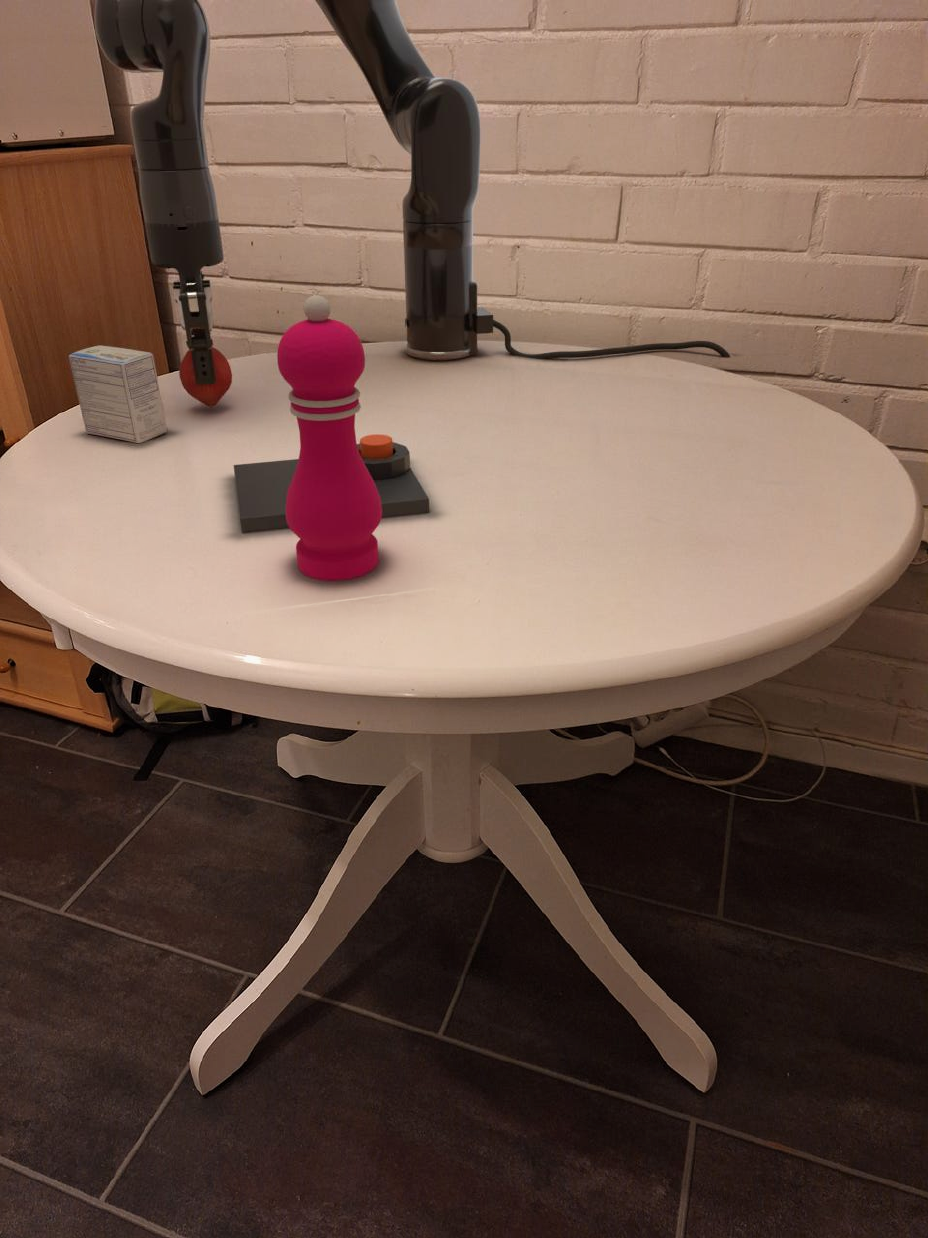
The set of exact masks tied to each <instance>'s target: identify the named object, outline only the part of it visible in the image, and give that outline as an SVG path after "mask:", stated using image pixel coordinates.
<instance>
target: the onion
mask: <svg viewBox="0 0 928 1238" xmlns="http://www.w3.org/2000/svg"><path fill="white" fill-rule="evenodd" d="M212 356H213V362H214V369H215V376H216V382H215V383H214V384H209V385H198V384H197V383H196V381H195V375H194V368H193V362H192V356H191V351H190V350H189V349H188V350H187V351H186V352H185V354H184V356H183V358H182V360H181V362H180V365H179V368H178V375H179V376H178V377H179V380H180V382H181V385H182V387H183V389H184V390H185V392H187V394H188V395H189V396H191V398H193V399H195V400H196V401H198V402H200V403H201V404H203V405H204V406H206V407H207V408H213V407H216V406H217V405H218V403H219V402H220V401H221V399H222V398H223V397H224V396H225V395H226V393H227V392H228V391H229V390H230V388H231V385H232V384H233V371H232V368H231V365H230V362H229V361H228V359H227V358H226V356H225V355H224V354H223V353H222V352H221V351H220V350H219V349H217V348H216V347H214V346H212Z"/></svg>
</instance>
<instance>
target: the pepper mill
mask: <svg viewBox="0 0 928 1238" xmlns="http://www.w3.org/2000/svg"><path fill="white" fill-rule="evenodd" d="M303 312H304V315H305V316H306V318H307V319H304V320H301V321H299V322H297V323H294V324H293V325H292V326H290V327H289V328H288V329H286V331H285V332H284V333H283V335H282V336H281V338H280V340H279V342H278V346H277V353H276V355H277V356H276V357H277V358H276V359H277V367H278V371H279V373H280V375H281V376H282V378H283V379H284V381H286V383H287V384H288V385H289V386H290V387H291V388H292V390H290V391H289V393H288V400H289V401H290V406H289V413H290V414H291V415H292V416H294V417H296V419H297V420H296V421H297V427H298V432H299V444H300V445H299V446H300V447H299V448H300V449H299V455H298V459H299V461H298V464H297V467H296V471H295V473H294V476H293V479H292V481H291V484H290V487H289V490H288V494H287V500H286V520H287V524H288V526H289V527H290V528H289V529H290V531H291V532H292V533H293V534H294V535H295V536H296V537H297V538H299V540H298V541H297V543H296V544H295V552H296V560H297V567H298V570H299V571H301V573H302V574H304V575H306V577H309V578H312V579H316V580H321V581H330V582H331V581H348V580H351V579H352V580H353V579H356V578H359V577H362V576H365V575H367V574H368V573H370V572H372V570H374V569H375V568H376V566H377V565H378V563H379V543H378V542H379V541H378V539H377V536H375V535H374V534H373V533H374V532H375V531H376V530H377V528H378V527H379V525H380V523H381V521H382V519H383V518H382V506H381V500H380V496H379V493H378V490H377V488H376V485H375V482H374V481H373V479H372V477H371V475H370V473H369V471H368V469H367V468H366V466H365V464H364V462H363V460H362V458H361V455H360V453H359V450H358V447H357V444H358V443H357V438H356V436H357V435H356V428H355V427H356V414H358V413H360V410H361V407H362V404H361V402H360V400H359V398H360V396H361V391H360V390H359V388H357V387H356V386H355V385H356V383H357V381H358V380H359V379H360V377H361V376H362V375H363V372H364V371H365V365H366V355H365V349H364V346H363V343H362V341H361V339H360V337H359V335H358V334H357V333H356V331H354V330H353V328H352V327H350V326H349V325H348V324H346V323H344V322H342V321H339V320H336V319H332V318H329V317H330V315H331V305H330V303H329V300H327V299H326V298H325V297H324V296H321V295H319V294H318V295H316V294H315V295H312V296H310V297H308V298H307V299H306V300H305V302H304V305H303Z"/></svg>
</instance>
